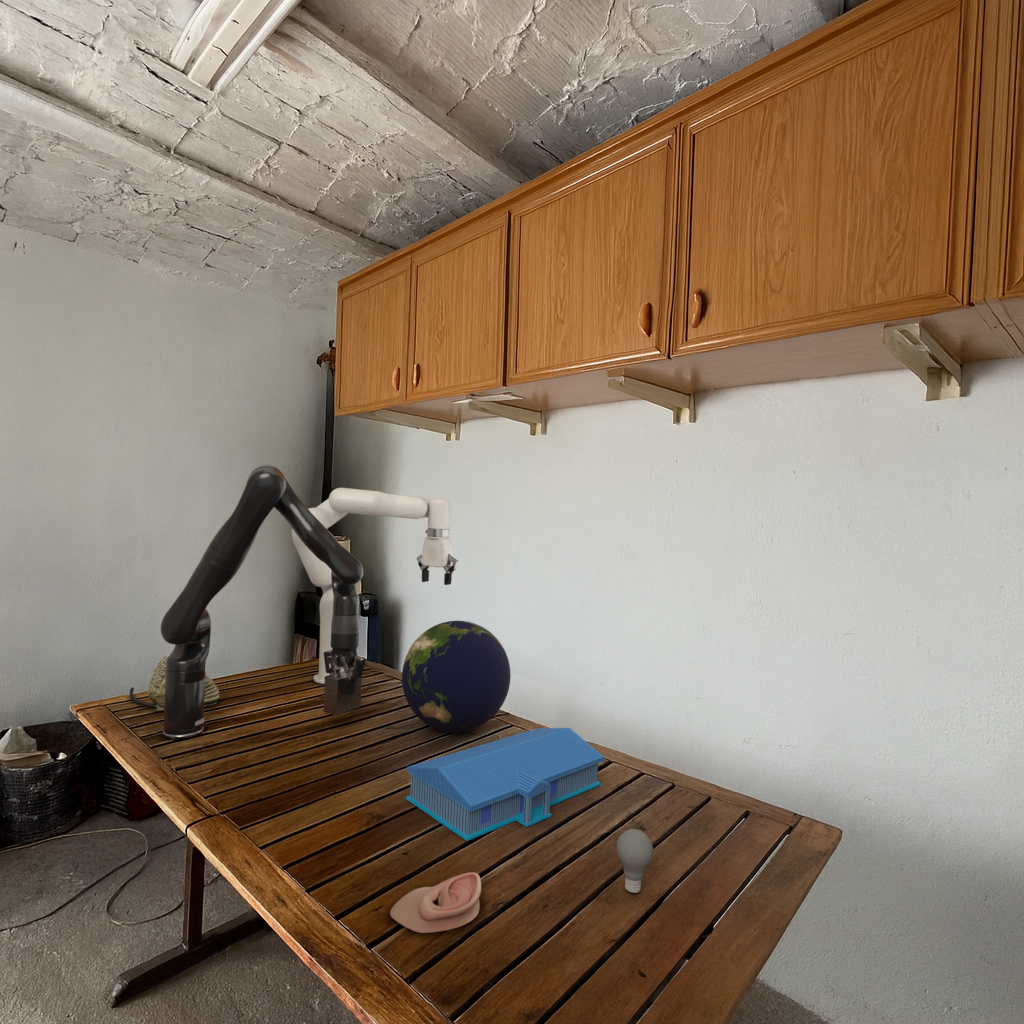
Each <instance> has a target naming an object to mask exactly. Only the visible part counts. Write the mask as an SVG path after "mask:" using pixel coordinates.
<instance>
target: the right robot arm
mask: <svg viewBox="0 0 1024 1024" xmlns="http://www.w3.org/2000/svg"><path fill="white" fill-rule="evenodd" d="M307 509H308V510H309V511H310V512H311V513H312V514H313V515H314V516H315V517H316V518H317V519H318V520H319V521H320V522H321V523H322V524H323V525H324V526H325V528H326V529H327V530H328V529H329V528H330V527H332V526H333V525H334V524H336V523H337V522H338V521H340V520H342V519H343V518H345V516H347V515H348V514H353V515H354V514H355V515H365V516H374V517H390V518H391V517H392V518H401V519H411V520H419V519H423V518H425V519H426V518H427V529H426V530H425V534H426V535H427V536H425V537H424V541H423V544H422V545H423V546H422V552H421V554H420V555H418V556H416V561H417V565H418V567H419V568H420V571H421V583H426V582H427V583H428V582H429V581H430V580H429V579H430V570H429V569H430V567H431V568H443V570H444V571H445V573H444V577H443V585H445V586H450V585H452V581H453V580H452V579H453V577H452V576H453V573H454V571H455V570H457V566H458V565H459V563H460V562H459V560H458V559H456V558H455V557H454V556H453V550H452V549H453V548H452V540H451V538H450V523H451V522H450V521H451V500H449V499H448V498H440V497H439V498H435V497H434V498H427V497H421V496H411V495H400V494H391V493H386V492H383V491H378V490H370V489H369V490H368V489H359V488H348V487H337V488H335V489H333V490H332V491H331V492H330V494H329V496H328V498H327V499H326V500H324V501H323V502H322V503H320V504H319V505H317V506H316V507H309V508H307ZM291 537H292V542H293V545H294V547H295V549H296V552H297V553H298V556H299V557H300V561H301V563H302V564H303V567H304V569H305V571H306V574H307V575H308V578H309V580H310V582H311V583H312V584H313V585H314V586H315V587H317V588H321V590H322V592H323V594H322V596H321V598H320V601H319V621H320V622H319V652H318V653H319V654H318V673H317V674H315V675H314V676H313V681H314V682H315V683H316V684H319V685H320V684H321V685H324V680H325V676H328V675H330V674H329V673H326V669H325V661H324V652H326V651H330V650H332V649H333V648H331V646H330V645H331V621H332V615H333V590H332V581H331V569H330V568H329V567H328V566H327V565H326V564H325V563H324V562H322V561H321V560H319V559H318V558H317V557H316V556H315V555H314V554H313V553H312V552H311V551H310V550H309V549H308V548H307V547H306V546H305V544H304V543H303V542H302V541H301V540H300V538H299V537H298V536H297V534H296V533H295V531H294V530H293V529H292V528H291ZM329 666H330V668H331V665H330V664H329ZM342 671H344V668H342V669H341V671H340V672H342Z"/></svg>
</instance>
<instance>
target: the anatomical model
mask: <svg viewBox="0 0 1024 1024" xmlns="http://www.w3.org/2000/svg"><path fill="white" fill-rule="evenodd" d="M481 894H482V880H481V876H480V875H479V874H478V873H477V872H475V871H473V872H464V873H462V874H458V875H455V876H453V877H450V878H448V879H446V880H444V881H442V882H439V883H438V884H435V885H434V886H423V887H419V888H415V889H413V890H411V891H409V892H408V893H406V894H405V895H403V896H402V897H401V898H400V899H399V900H398V901H397V902H395V904H394V905H392V907H391V909H390V911H389V916H390V917H391V918H392V919H393V920H394V921H395V922H397V923H398V924H399V925H400V926H403V927H405V928H406V929H408V930H411V931H413V932H415V933H420V934H427V933H429V934H430V933H438V932H444V931H450V930H454V929H457V928H460V927H462V926H464V925H466V924H468V923H470V922H472V921H473V920H474V919H476V917H477V916H478V915H479V912H480V907H481V902H480V896H481Z"/></svg>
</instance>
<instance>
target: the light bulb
mask: <svg viewBox="0 0 1024 1024" xmlns="http://www.w3.org/2000/svg"><path fill="white" fill-rule="evenodd" d="M615 849H616V854H617V857H618V859H619V861H620V863H621V865H622V867H623V873H624V874H623V875H624V876H625V878H624V888H625V890H627V891H628V892H630V893H634V894H635V893H639V892H640V891H641V889H642V887H641V886H642V879H643V877H644V875H645V871H646V868H647V867H648V866H649V864H650V863H651V861H652V859H653V855H654V847H653V843H652V841H651V838H649V836H648V835H647V834H646V833H645V832H643V831H642V830H641V829H636V828H629V829H627V830H625V831H623V832H622V833H621V834H620V835H619V837H618V839H617V841H616V847H615Z"/></svg>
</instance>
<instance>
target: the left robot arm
mask: <svg viewBox="0 0 1024 1024" xmlns="http://www.w3.org/2000/svg"><path fill="white" fill-rule="evenodd" d="M273 509H275V510H276V511H278V513H279V514H280V515H281V516H282V517H283V518H284V520H285V521H286V522H287V523H288V525H289V526H290V527H291V530H292V529H293V530H294V531H295V533H296V534H297V536H298V537H299V538H300V540H301V541H302V542H303V543H304V544H305V546H306V547H307V548H308V549H309V550H310V551H311V552H312V553H313V554H314V555H315V556H316V557H317V558H318V559H319V560H321V561H322V562H324V563H325V564H326V565H327V566H328V567H329V568H330V569H331V581H332V590H333V615H332V621H331V645H330V646H331V648H333V649H332V650H330V651H326V652H324V661H325V669H326V673H329V674H330V675H332V674H335V673H339V672H340V671H341V669H342V668H344V672H345V673H346V675H347V680H348V681H347V694H352V693H354V691H355V680H356V679H358V678H361V677H362V678H363V673H364V668H365V664H366V657H364V656H363V657H360V656H359V655H358V653H357V652H358V651H357V649H358V647H359V645H360V595H359V594H358V592H357V586H356V585H357V584H358V583H360V582H361V580H362V578H363V576H364V568H363V565H362V563H361V562H360V561H359V559H357V558H356V556H354V555H353V554H352V553H351V552H350V551H349V550H347V549H346V547H344V546H343V545H342V544H341V543H340V542H339V540H338V539H337V538H336V537H335V536H334V535H333V534H332V533H331V532H330V530H328V529H326V528H325V526H324V525H323V524H322V523H321V522H320V521H319V520H318V519H317V518H316V517H315V516H314V515H313V514H312V513H311V512H310V511H309V510H308V509H309V508H308V507H307V506H306V505H305V503H303V501H302V500H301V498H299V496H298V495H297V493H296V492H295V491H294V490H293V488H292V486H291V485H290V483H289V482H288V480H287V478H286V477H285V475H284V473H283V472H282V471H281V470H280V469H279V468H278V467H276V466H274V465H271V464H262V465H261V464H260V465H258V466H257V467H254V468H253V469H252V471H251V472H250V474H249V476H248V478H247V480H246V483H245V486H244V489H243V491H242V494H241V496H240V498H239V501H238V503H237V505H236V507H235V508H234V510H233V512H232V514H231V515H230V516H229V517H228V519H227V520H226V521H225V522H224V523H223V524H222V525H221V527H220V528H218V531H217V532H216V533H215V535H214V536H213V538H212V539H211V541H210V543H209V545H208V546H207V548H206V549H205V551H204V553H203V555H202V557H201V558H200V560H199V562H198V564H197V566H196V567H195V569H194V570H193V572H192V574H191V576H190V578H189V579H188V580H187V583H186V585H185V586H184V588H183V589H182V591H181V592H180V594H179V595H178V597H177V598H176V599H175V601H174V602H173V603H172V605H171V606H170V607H169V608H168V610H167V611H166V612H165V614H164V615H163V618H162V620H161V622H160V634H161V637H162V638H163V640H164V641H165V642H166V643H167V644H170V645H173V646H174V647H173V650H172V651H171V652H170V653H169V654H168V655H169V656H168V657H167V659H166V674H165V705H164V710H163V730H162V737H164V738H166V739H169V740H185V739H190V738H191V739H192V738H194V737H197V736H199V735H202V734H203V732H204V730H205V729H204V727H205V725H204V723H205V706H204V693H205V672H206V664H207V663H206V662H207V658H208V655H209V653H210V647H211V636H212V619H211V614H210V613H209V611H208V610H207V607H208V606H209V604H210V602H211V601H212V600H213V599H214V598H215V597H216V596H217V595H218V594H219V593H220V592H221V591H222V590H223V589H224V588H225V587H226V586H227V585H228V584H229V583H230V582H231V581H232V579H233V578H234V577H235V576H236V575H237V573H238V572H239V571H240V569H241V567H242V565H243V563H244V562H245V560H246V558H247V557H248V554H249V552H250V551H251V548H252V546H253V544H254V542H255V539H256V537H257V536H258V534H259V533H258V532H259V530H260V528H261V527H262V525H263V523H264V522H265V521H266V519H267V517H268V516H269V515H270V513H271V512H272V511H273ZM329 664H330V665H331V668H330V666H329ZM350 672H351V673H352V676H351V673H350ZM134 690H135V688H134V687H130V690H129V697H130V700H132V701H133V702H135V703H136V704H139V705H141V706H146V707H151V708H155V709H156V706H155V703H153V702H147V701H143V700H140V699H138V698H136V697H135V695H134Z"/></svg>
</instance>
